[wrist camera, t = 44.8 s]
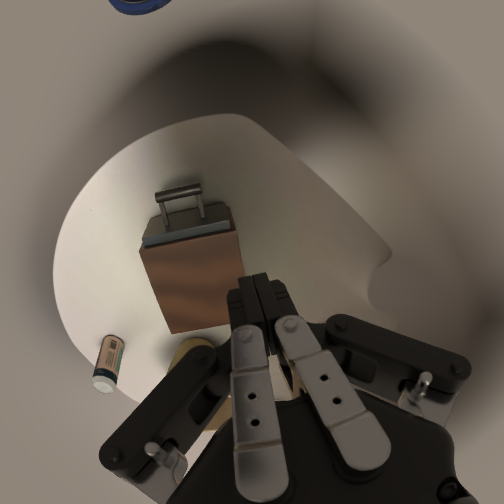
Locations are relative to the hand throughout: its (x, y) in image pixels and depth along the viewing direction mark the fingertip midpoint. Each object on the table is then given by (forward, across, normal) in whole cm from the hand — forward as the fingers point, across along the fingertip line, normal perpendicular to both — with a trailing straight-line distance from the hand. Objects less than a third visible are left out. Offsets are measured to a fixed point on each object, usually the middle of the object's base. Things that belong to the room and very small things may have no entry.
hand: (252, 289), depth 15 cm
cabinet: (+29, +6, +13) cm, 32 cm away
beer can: (+29, +28, +28) cm, 50 cm away
